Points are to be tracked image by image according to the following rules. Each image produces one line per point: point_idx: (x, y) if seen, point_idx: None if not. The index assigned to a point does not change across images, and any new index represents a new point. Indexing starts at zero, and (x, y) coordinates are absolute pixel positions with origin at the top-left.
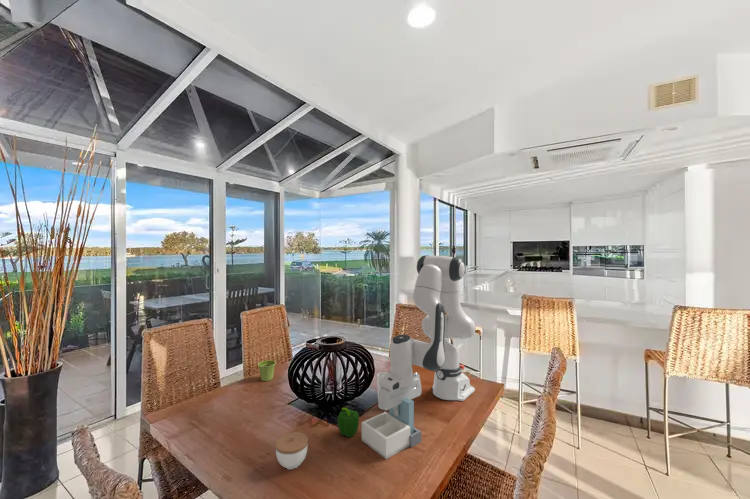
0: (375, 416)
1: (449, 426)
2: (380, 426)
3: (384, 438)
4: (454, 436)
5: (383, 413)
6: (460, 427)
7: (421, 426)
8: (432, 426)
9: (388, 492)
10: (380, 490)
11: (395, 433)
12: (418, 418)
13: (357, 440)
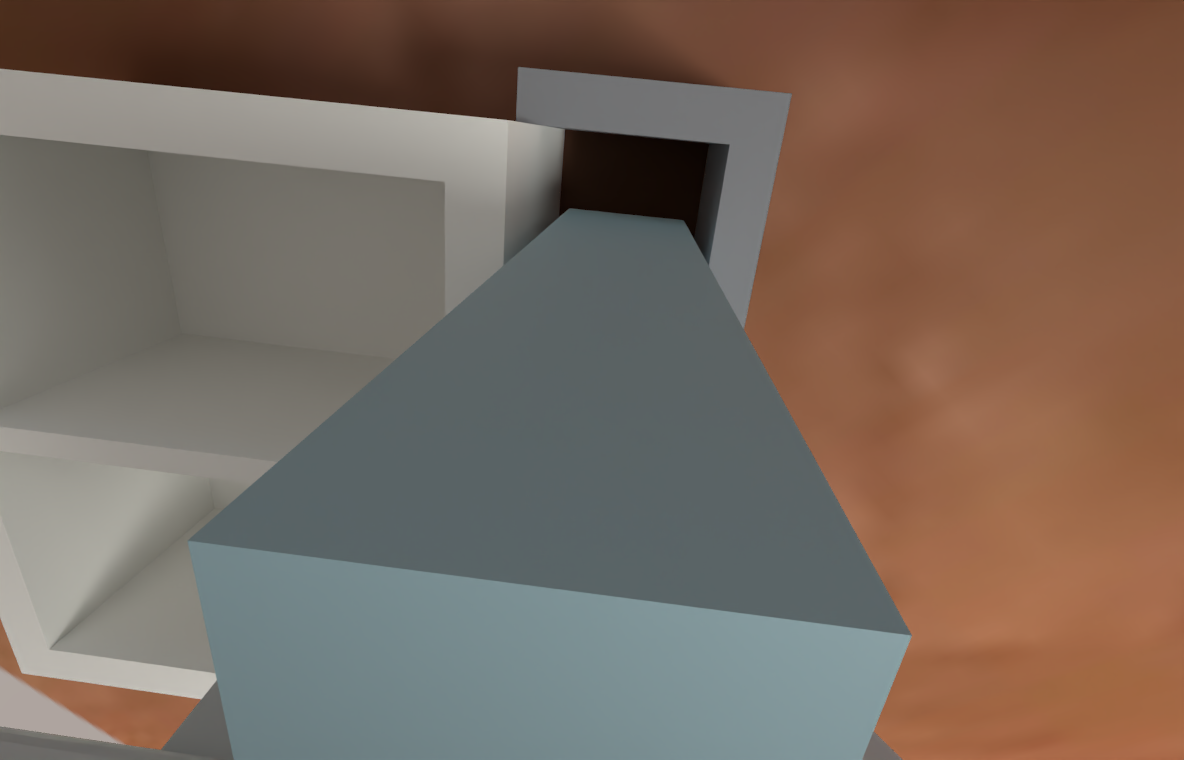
0: (179, 101)
1: (1133, 664)
2: (93, 437)
3: (13, 644)
4: (962, 752)
5: (417, 150)
6: (1172, 740)
7: (947, 454)
8: (1026, 543)
9: (49, 698)
10: (7, 659)
11: (205, 683)
12: (1136, 315)
13: (81, 38)
